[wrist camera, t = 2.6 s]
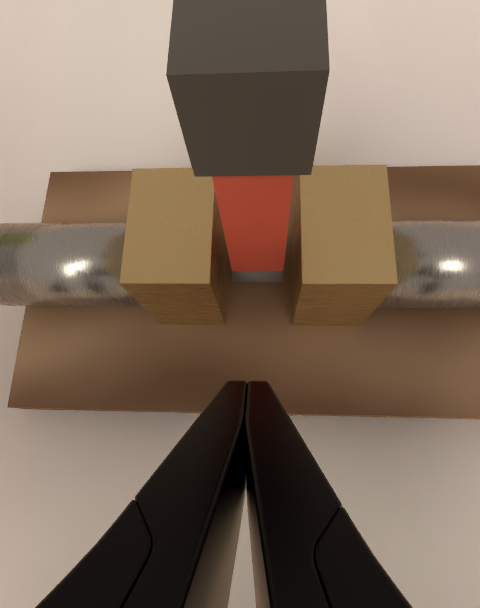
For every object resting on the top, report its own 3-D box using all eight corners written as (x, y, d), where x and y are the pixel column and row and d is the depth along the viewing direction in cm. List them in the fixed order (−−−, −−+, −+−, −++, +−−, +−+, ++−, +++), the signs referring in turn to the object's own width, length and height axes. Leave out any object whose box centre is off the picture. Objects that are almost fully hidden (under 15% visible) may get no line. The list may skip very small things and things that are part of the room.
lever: (291, 289, 17) (329, 75, 7) (225, 289, 18) (165, 79, 7) (290, 246, 18) (325, -13, 8) (226, 246, 18) (173, -6, 8)
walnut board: (508, 419, 18) (528, 418, 17) (26, 408, 20) (7, 407, 18) (470, 182, 22) (484, 165, 20) (64, 188, 23) (50, 172, 22)
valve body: (514, 327, 18) (618, 284, 13) (20, 323, 19) (-71, 282, 14) (498, 235, 19) (586, 161, 14) (36, 237, 21) (-42, 171, 15)
